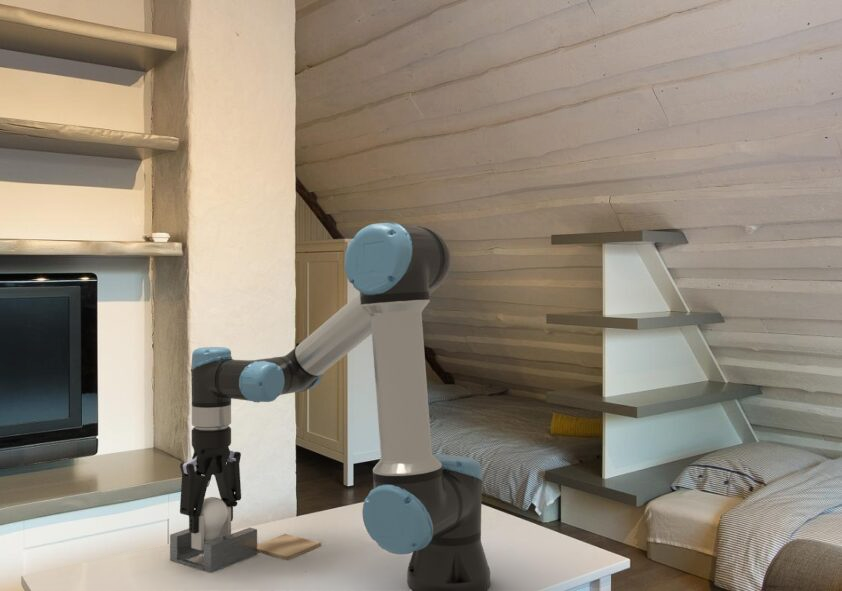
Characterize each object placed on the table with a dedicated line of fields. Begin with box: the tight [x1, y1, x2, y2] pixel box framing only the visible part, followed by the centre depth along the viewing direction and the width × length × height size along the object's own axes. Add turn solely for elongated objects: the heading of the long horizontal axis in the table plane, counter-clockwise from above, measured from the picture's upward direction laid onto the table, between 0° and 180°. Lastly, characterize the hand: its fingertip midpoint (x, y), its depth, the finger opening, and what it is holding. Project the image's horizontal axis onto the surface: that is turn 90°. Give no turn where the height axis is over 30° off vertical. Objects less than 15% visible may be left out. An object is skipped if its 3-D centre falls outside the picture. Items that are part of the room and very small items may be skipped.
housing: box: [169, 527, 258, 573], centre depth 157 cm, size 12×12×5 cm
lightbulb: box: [200, 496, 228, 543], centre depth 156 cm, size 6×6×11 cm
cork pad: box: [257, 533, 322, 561], centre depth 163 cm, size 10×10×1 cm
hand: (211, 543), depth 156 cm, fingers closed on lightbulb, 6 cm apart
